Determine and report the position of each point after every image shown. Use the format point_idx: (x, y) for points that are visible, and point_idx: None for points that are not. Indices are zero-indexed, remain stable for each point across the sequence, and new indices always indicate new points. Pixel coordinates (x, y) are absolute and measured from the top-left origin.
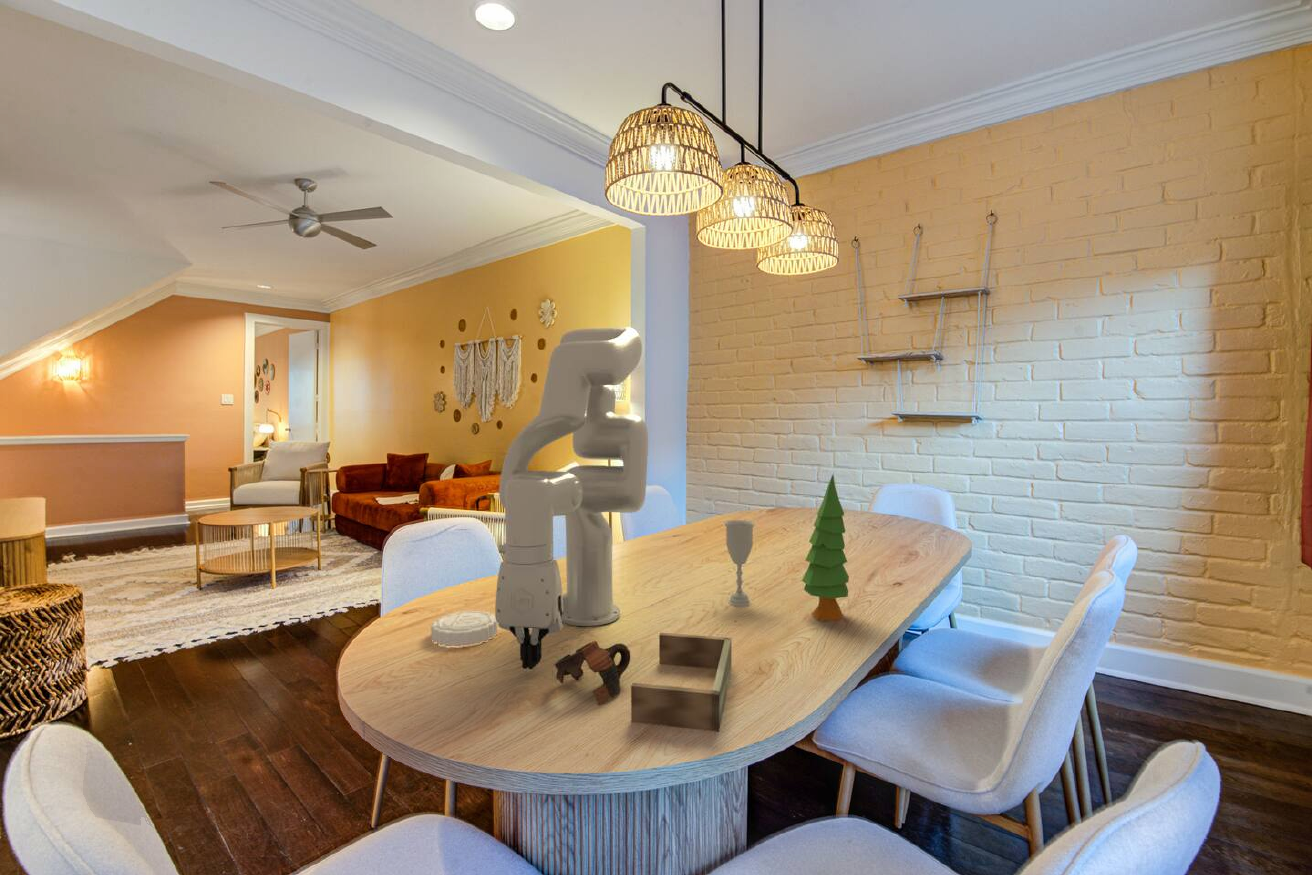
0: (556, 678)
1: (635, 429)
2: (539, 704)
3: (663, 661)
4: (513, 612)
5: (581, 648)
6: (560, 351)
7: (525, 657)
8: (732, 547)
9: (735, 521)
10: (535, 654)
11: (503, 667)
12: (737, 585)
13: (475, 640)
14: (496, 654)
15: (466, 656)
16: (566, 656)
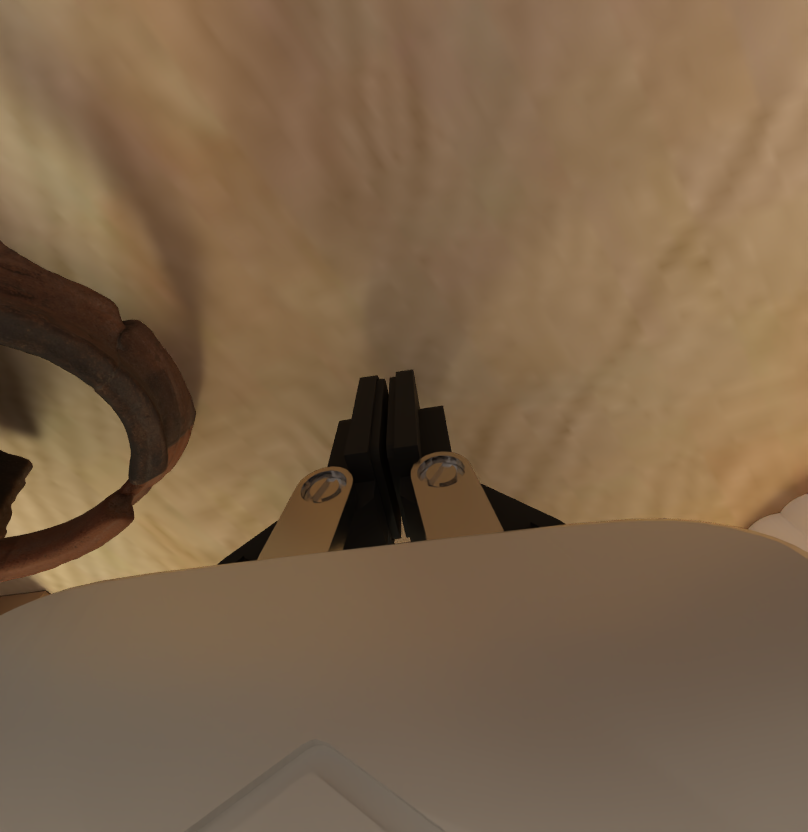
0: (85, 286)
1: None
2: (113, 107)
3: (24, 601)
4: (539, 789)
5: (71, 535)
6: None
7: (393, 402)
8: None
9: None
10: (346, 440)
11: (557, 404)
12: None
13: (784, 533)
14: (643, 486)
15: (780, 433)
16: (133, 462)
